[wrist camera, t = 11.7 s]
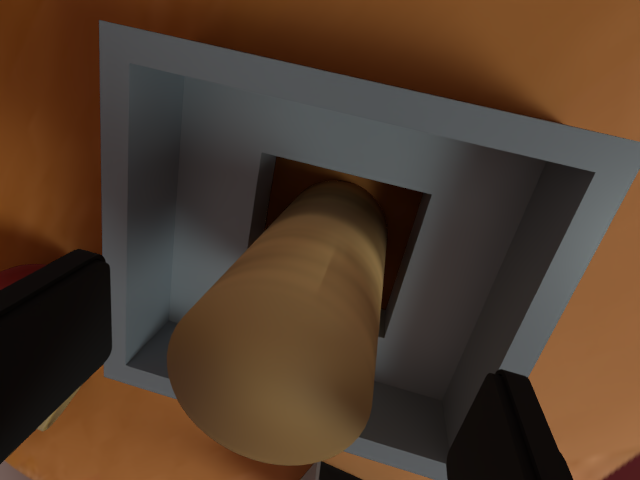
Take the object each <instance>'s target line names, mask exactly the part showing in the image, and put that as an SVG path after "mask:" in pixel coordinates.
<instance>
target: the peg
mask: <svg viewBox="0 0 640 480" xmlns="http://www.w3.org/2000/svg"><path fill="white" fill-rule="evenodd" d="M387 234H388V229H387V221H386V217H385V215H384V212H383V210H382V208H381V206H380V205H379V203H378V202H377V200H376V199H375V198H374V197H373V196H372V195H371V194H370V193H368V192H367V191H366V190H364V189H363V188H361V187H359V186H357V185H355V184H352V183H349V182H345V181H336V180H332V181H324V182H320V183H317V184H314V185H312V186H310V187H309V188H307V189H306V190H304V191H303V192H302V193H301V194H300V195H299V196H298V197H297V198H296V199H295V200H294V201H293V202H292V203H291V204H290V205H289V206H288V207H287V208H286V209H285V210H284V211H283V212H282V213H281V214H280V216H279V217H278V218H277V219H276V220H275V221H274V222H273V223H272V224H271V225H270V226H269V227H268V228H267V229H266V230H265V231H264V232H263V233H262V234H261V235H260V237H259V238H258V239H257V240H256V241H255V242H254V243H253V244H252V245H251V246H250V247H249V248H248V249H247V250H246V251H245V252H244V253H243V254H242V255H241V256H240V257H239V259H238V260H237V261H236V262H235V263H234V264H233V265H232V266H231V267H230V268H229V269H228V270H227V271H226V272H225V273H224V274H223V275H222V276H221V277H220V278H219V280H218V281H217V282H216V283H215V284H214V285H213V286H212V287H211V288H210V289H209V290H208V291H207V292H206V293H205V294H204V295H203V296H202V297H201V298H200V299H199V300H198V302H197V303H196V304H195V305H194V306H193V307H192V308H191V309H190V310H189V311H188V312H187V313H186V314H185V315H184V316H183V317H182V319H181V320H180V321H179V323H178V324H177V325H176V327H175V329H174V331H173V333H172V335H171V338H170V342H169V345H168V351H167V369H168V376H169V380H170V383H171V386H172V389H173V391H174V394H175V396H176V398H177V400H178V402H179V403H180V405H181V407H182V408H183V410H184V411H185V412H186V414H187V415H188V416H189V418H190V419H191V420H192V421H193V422H194V423H195V424H196V425H197V426H198V427H199V428H200V429H201V430H202V431H203V432H204V433H205V434H206V435H208V436H209V437H210V438H212V439H213V440H214V441H216V442H217V443H219V444H220V445H222V446H224V447H225V448H227V449H229V450H231V451H233V452H235V453H237V454H239V455H242V456H244V457H247V458H250V459H253V460H256V461H260V462H263V463H269V464H275V465H286V466H293V465H306V464H313V463H317V462H320V461H324V460H326V459H329V458H331V457H334V456H335V455H337V454H339V453H341V452H343V451H344V450H345V449H347V448H348V447H349V446H350V445H352V444H353V443H354V441H355V440H356V439H357V438H358V437H359V436H360V434H361V433H362V431H363V430H364V428H365V426H366V424H367V422H368V420H369V417H370V413H371V409H372V401H373V390H374V378H375V367H376V356H377V345H378V334H379V323H380V312H381V301H382V290H383V279H384V268H385V257H386V246H387Z"/></svg>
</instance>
